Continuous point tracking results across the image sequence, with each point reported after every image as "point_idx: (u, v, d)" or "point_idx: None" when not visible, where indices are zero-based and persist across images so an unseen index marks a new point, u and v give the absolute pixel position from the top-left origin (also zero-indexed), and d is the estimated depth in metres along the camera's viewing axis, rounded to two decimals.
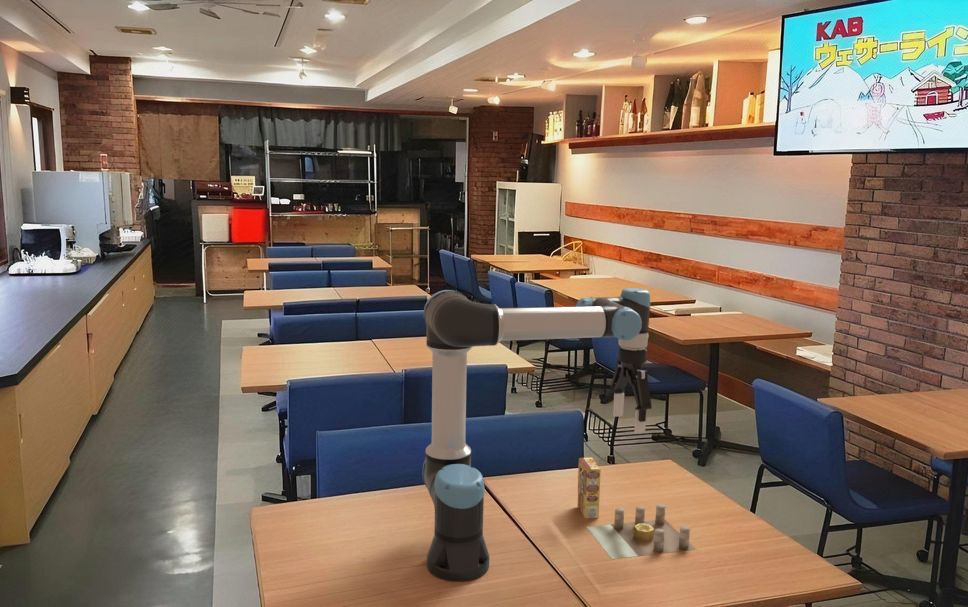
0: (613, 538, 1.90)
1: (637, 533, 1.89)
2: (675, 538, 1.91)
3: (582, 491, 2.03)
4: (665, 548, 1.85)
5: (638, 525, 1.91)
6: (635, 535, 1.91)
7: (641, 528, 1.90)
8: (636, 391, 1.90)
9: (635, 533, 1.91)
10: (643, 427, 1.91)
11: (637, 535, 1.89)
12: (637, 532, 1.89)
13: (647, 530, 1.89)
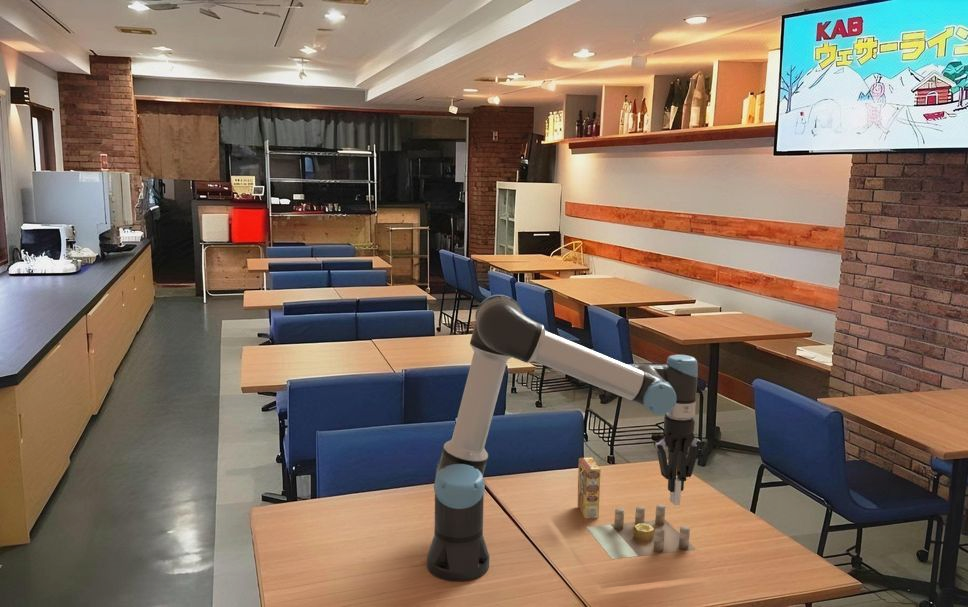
0: (613, 538, 1.90)
1: (637, 533, 1.89)
2: (675, 538, 1.91)
3: (582, 491, 2.03)
4: (665, 548, 1.85)
5: (638, 525, 1.91)
6: (635, 535, 1.91)
7: (641, 528, 1.90)
8: (668, 460, 1.90)
9: (635, 533, 1.91)
10: (674, 499, 1.90)
11: (637, 535, 1.89)
12: (637, 532, 1.89)
13: (647, 530, 1.89)
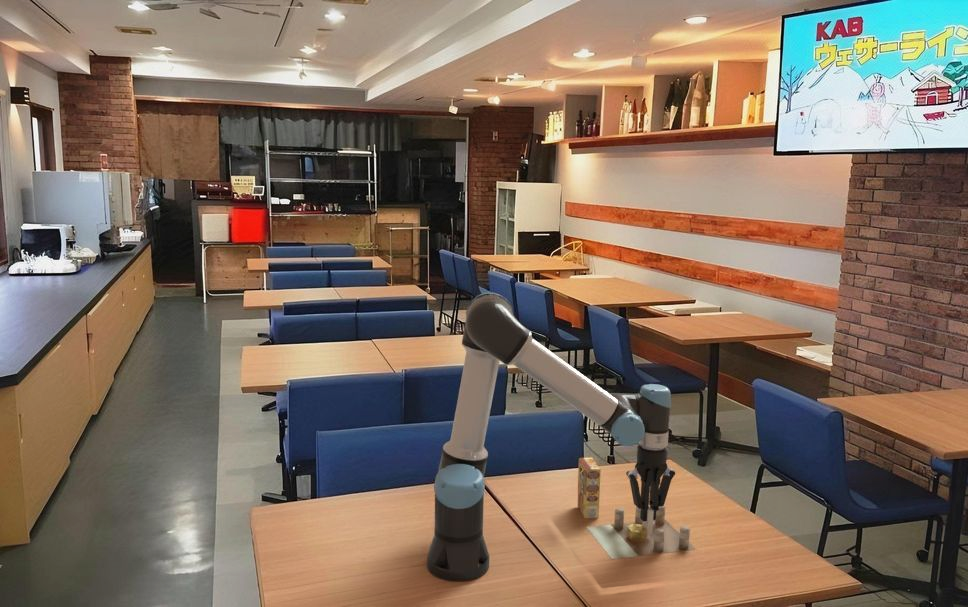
0: (613, 538, 1.90)
1: (630, 534, 1.89)
2: (675, 538, 1.91)
3: (582, 491, 2.03)
4: (665, 548, 1.85)
5: (631, 526, 1.91)
6: (628, 535, 1.90)
7: (635, 528, 1.90)
8: (641, 489, 1.90)
9: (628, 534, 1.90)
10: (646, 528, 1.90)
11: (630, 535, 1.89)
12: (630, 533, 1.89)
13: (640, 531, 1.88)
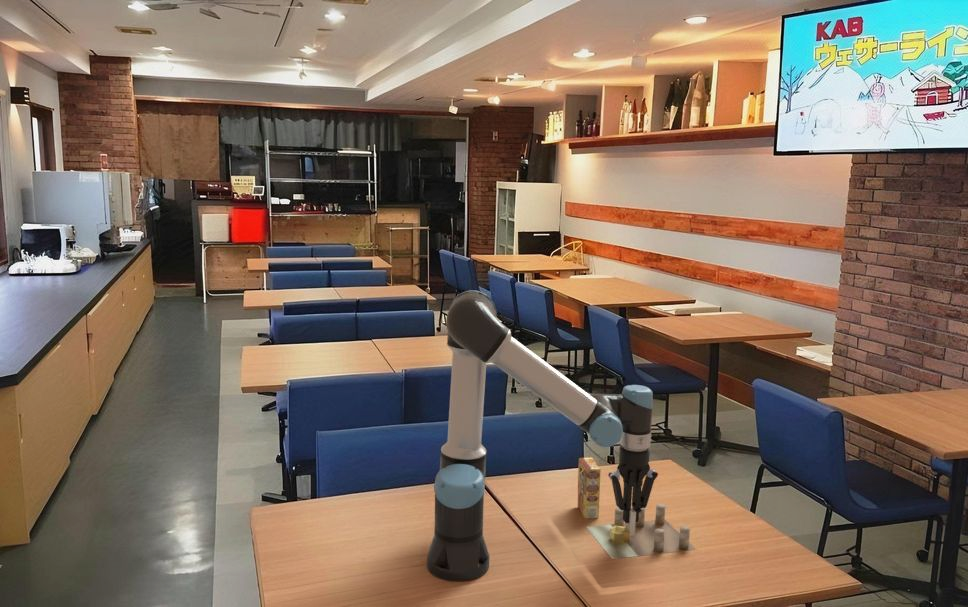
0: None
1: (613, 536, 1.88)
2: (675, 538, 1.91)
3: (582, 491, 2.03)
4: (665, 548, 1.85)
5: (614, 528, 1.90)
6: (610, 537, 1.89)
7: (617, 530, 1.88)
8: (623, 491, 1.88)
9: (610, 536, 1.89)
10: None
11: (613, 537, 1.88)
12: (613, 535, 1.88)
13: (622, 533, 1.87)
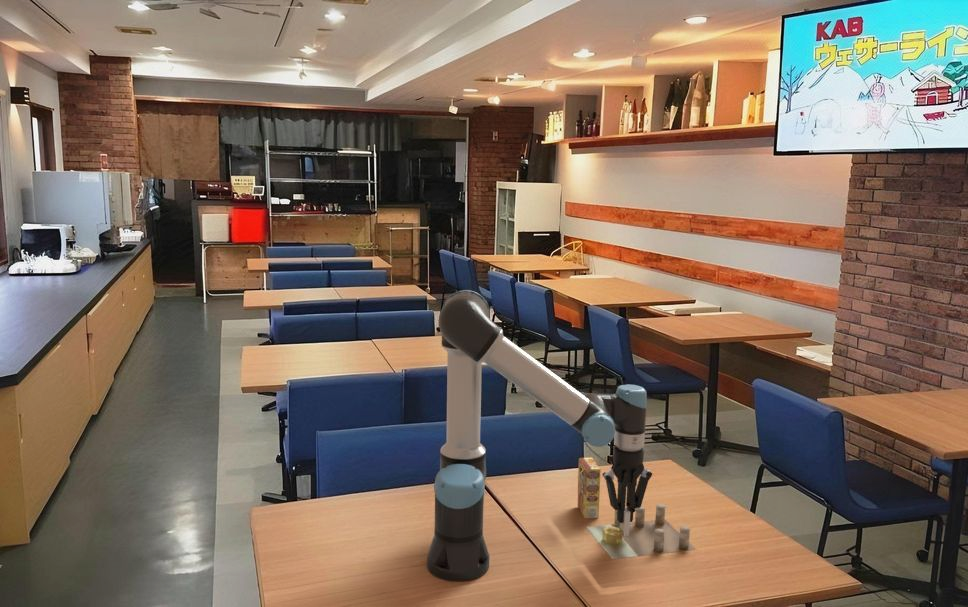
0: None
1: (605, 536, 1.87)
2: (675, 538, 1.91)
3: (582, 491, 2.03)
4: (665, 548, 1.85)
5: (606, 529, 1.89)
6: (603, 538, 1.88)
7: (610, 531, 1.88)
8: (618, 491, 1.88)
9: (603, 537, 1.88)
10: (623, 530, 1.88)
11: (605, 538, 1.87)
12: (605, 535, 1.87)
13: (615, 534, 1.86)
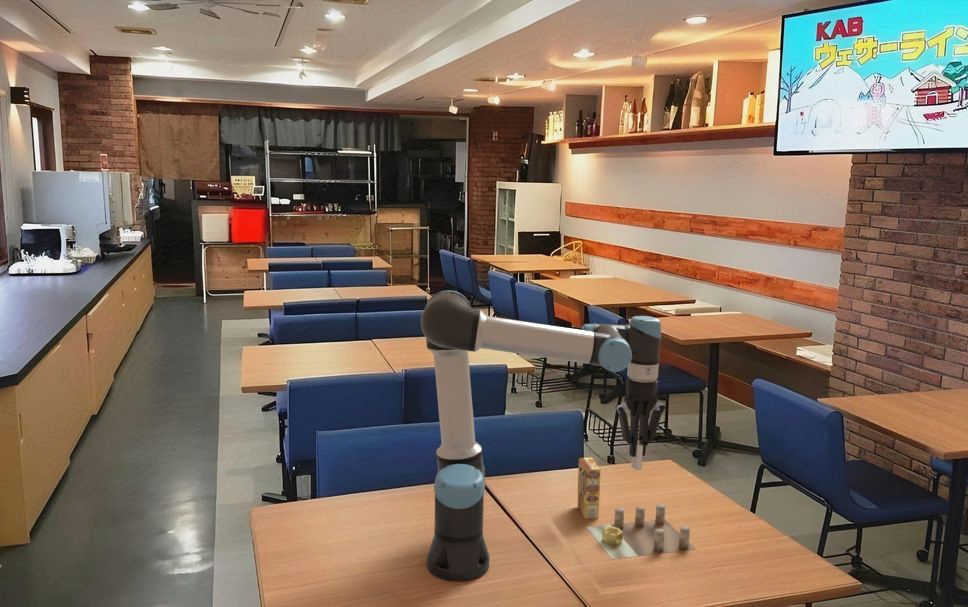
0: None
1: (605, 536, 1.87)
2: (675, 538, 1.91)
3: (582, 491, 2.03)
4: (665, 548, 1.85)
5: (606, 529, 1.89)
6: (603, 538, 1.88)
7: (610, 531, 1.88)
8: (630, 424, 1.86)
9: (603, 537, 1.88)
10: (635, 464, 1.86)
11: (605, 538, 1.87)
12: (605, 535, 1.87)
13: (615, 534, 1.86)
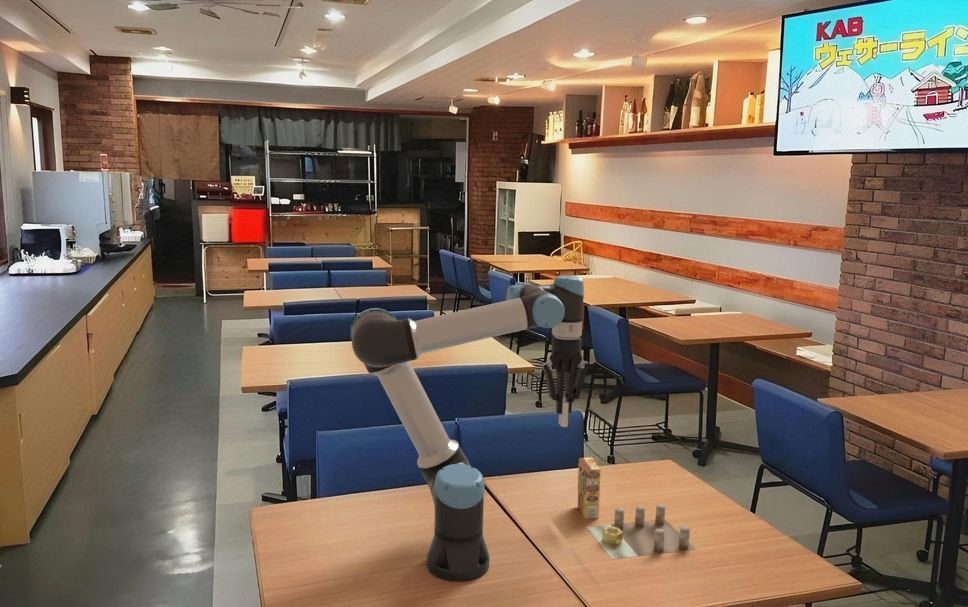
0: None
1: (605, 536, 1.87)
2: (675, 538, 1.91)
3: (582, 491, 2.03)
4: (665, 548, 1.85)
5: (606, 529, 1.89)
6: (603, 538, 1.88)
7: (610, 531, 1.88)
8: (556, 382, 1.90)
9: (603, 537, 1.88)
10: (561, 421, 1.90)
11: (605, 538, 1.87)
12: (605, 535, 1.87)
13: (615, 534, 1.86)
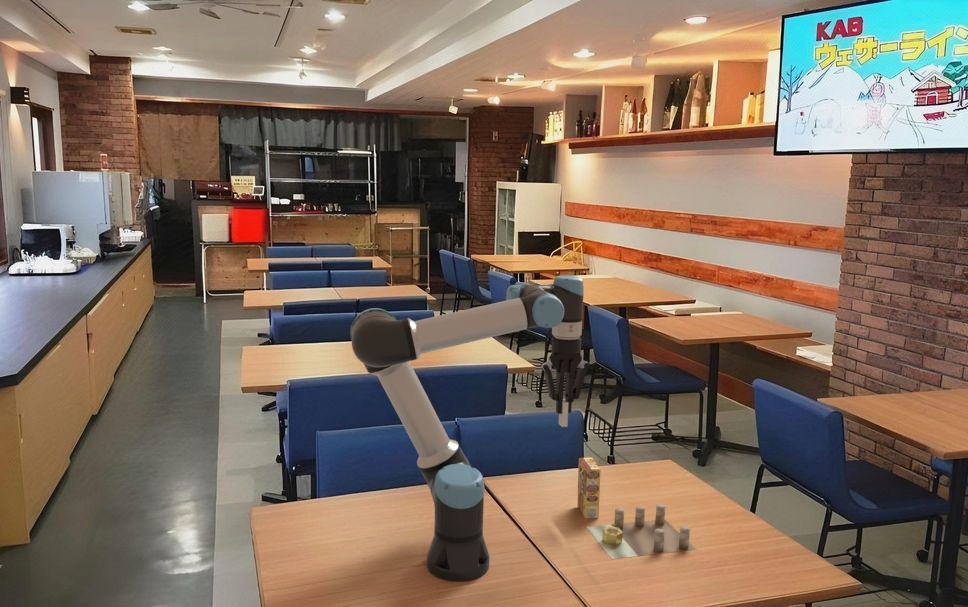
0: None
1: (605, 536, 1.87)
2: (675, 538, 1.91)
3: (582, 491, 2.03)
4: (665, 548, 1.85)
5: (606, 529, 1.89)
6: (603, 538, 1.88)
7: (610, 531, 1.88)
8: (556, 382, 1.90)
9: (603, 537, 1.88)
10: (561, 420, 1.90)
11: (605, 538, 1.87)
12: (605, 535, 1.87)
13: (615, 534, 1.86)
